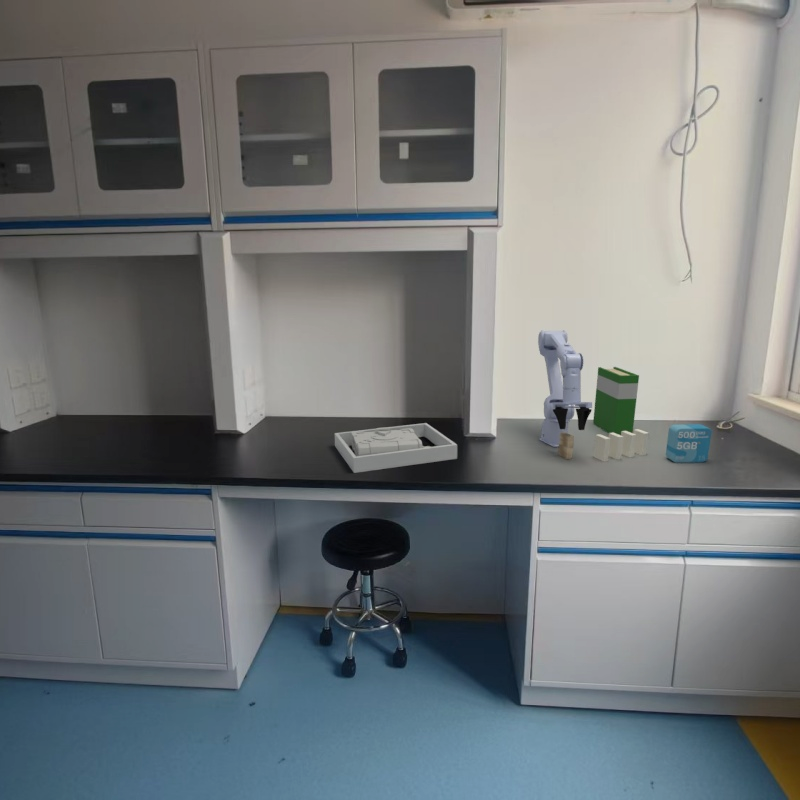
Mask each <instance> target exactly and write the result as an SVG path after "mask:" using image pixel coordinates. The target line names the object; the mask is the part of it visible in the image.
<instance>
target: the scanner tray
mask: <svg viewBox="0 0 800 800" xmlns="http://www.w3.org/2000/svg"><path fill="white" fill-rule="evenodd" d="M388 427H389V428H390V429H391V430H401V429H407V428H412V429H413V430H414V432H415V434H416V436H417V437H418V438H422V437H423V438H426V439H427V440H428V441H430V442H431V443H432V444H434V446H430V447H427V448H419V449H411V450H403V451H395V452H388V453H380V454H372V455H364V456H356V454H355V452H353V449H351V448H350V446H352V443H354V440H352V432H375V429H376V428H369V429H362V430H360V429H359V430H352V431H341V432H334V448H336V449H337V451H338V453H339V454H340V455H341V456H342V458H343V460H344V461H345V462H346V463H347V465H348V467H349V468H350V469H351V471H352V472H353V474H354V473H355V474H356V473H365V472H371V471H378V470H383V469H392V468H398V467H406V466H413V465H422V464H427V463H428V464H429V463H434V462H435V463H436V462H442V461H443V462H444V461H449V460H457V459H458V444H457V443H456V442H455V441H453V440H451V439H450V438H448V437H447V436H446V435H444V434H443V433H442V432H440V431H439V430H437V429H436V428H434V427H433V426H431V425H430V424H428V423H427V422H424V423H416V424H415V423H413V424H406V425H397V426H396V425H395V426H388Z"/></svg>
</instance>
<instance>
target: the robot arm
mask: <svg viewBox="0 0 800 800" xmlns="http://www.w3.org/2000/svg"><path fill="white" fill-rule="evenodd" d="M567 333H568V332H567V331H566V330H540V331H539V334H538V336H537V337H538V339H537V344H538V351H539V354H540V356H542V357H543V358H544V361H545V366H546V367H545V369H546V375H547V380H548V381H547V382H548V388H549V395H547V397H546V398H545V399H544V401H543V415H544V419H543V421H542V424H541V436H540V438H539V441H542V442H543V443H546V444H547V445H549V446H552V447H553V448H559V440H560V433H564V432H565V433H567V434H569V433H568V431H569V422H571V420H572V419H573V418H574V416H575V412H576V416H577V417H576V418H577V428H578V431H585V428H586V424H587V421H588V418H589V416H590V414H591V413H592V409H593V402H592V401H588V402H587V401H582V400H581V398H582V397H581V394H582V393H581V392H582V389H581V387H582V386H581V382H582V380H581V379H582V377H581V376H582V375H581V372H582V370H583V367H584V356H583V354H582V353H581V352H578V353H577V352H576V351H575V350H574V348H573V346H572V345H571V344H570V343H568V334H567ZM559 361H560V362H559ZM581 401H582V402H581Z"/></svg>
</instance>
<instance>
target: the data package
mask: <svg viewBox="0 0 800 800" xmlns="http://www.w3.org/2000/svg"><path fill="white" fill-rule="evenodd" d="M711 439H712V430H711V428H710V427H707V426H705V425H703V424H692V423H691V424H672V425H670V426H669V428H668V435H667V441H666V442H667V443H666V449H665V456H666V458H668V459H669V460H670V461H672V462H673V463H704V462H706V461H707V460H708V458H709V452H710V444H711Z"/></svg>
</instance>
